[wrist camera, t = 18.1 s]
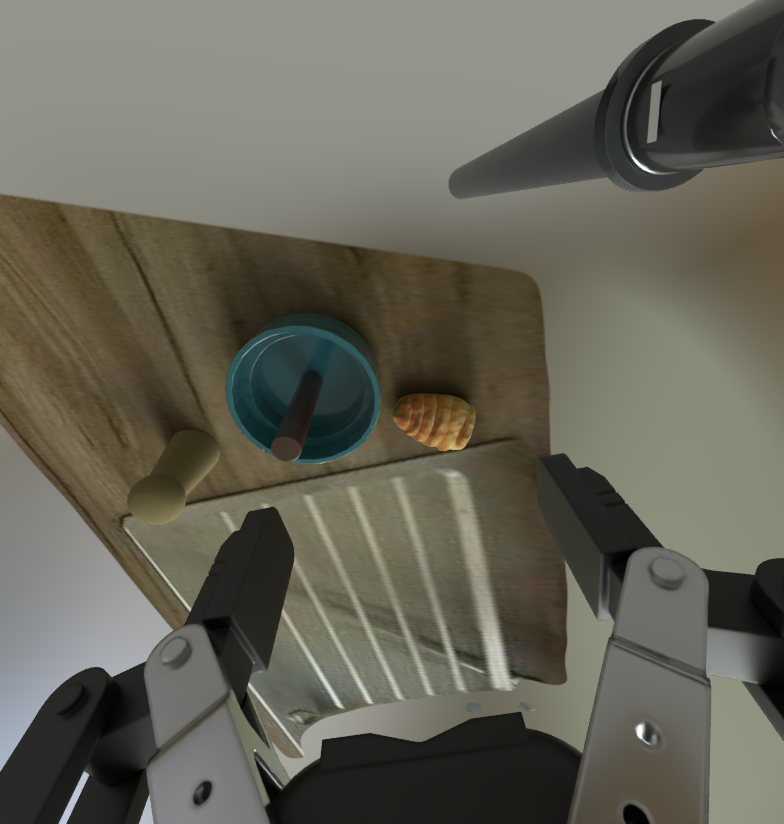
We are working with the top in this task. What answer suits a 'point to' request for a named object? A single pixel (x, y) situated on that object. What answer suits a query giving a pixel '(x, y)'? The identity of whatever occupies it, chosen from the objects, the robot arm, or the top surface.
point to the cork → (173, 477)
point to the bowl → (281, 373)
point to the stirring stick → (297, 418)
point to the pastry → (435, 419)
